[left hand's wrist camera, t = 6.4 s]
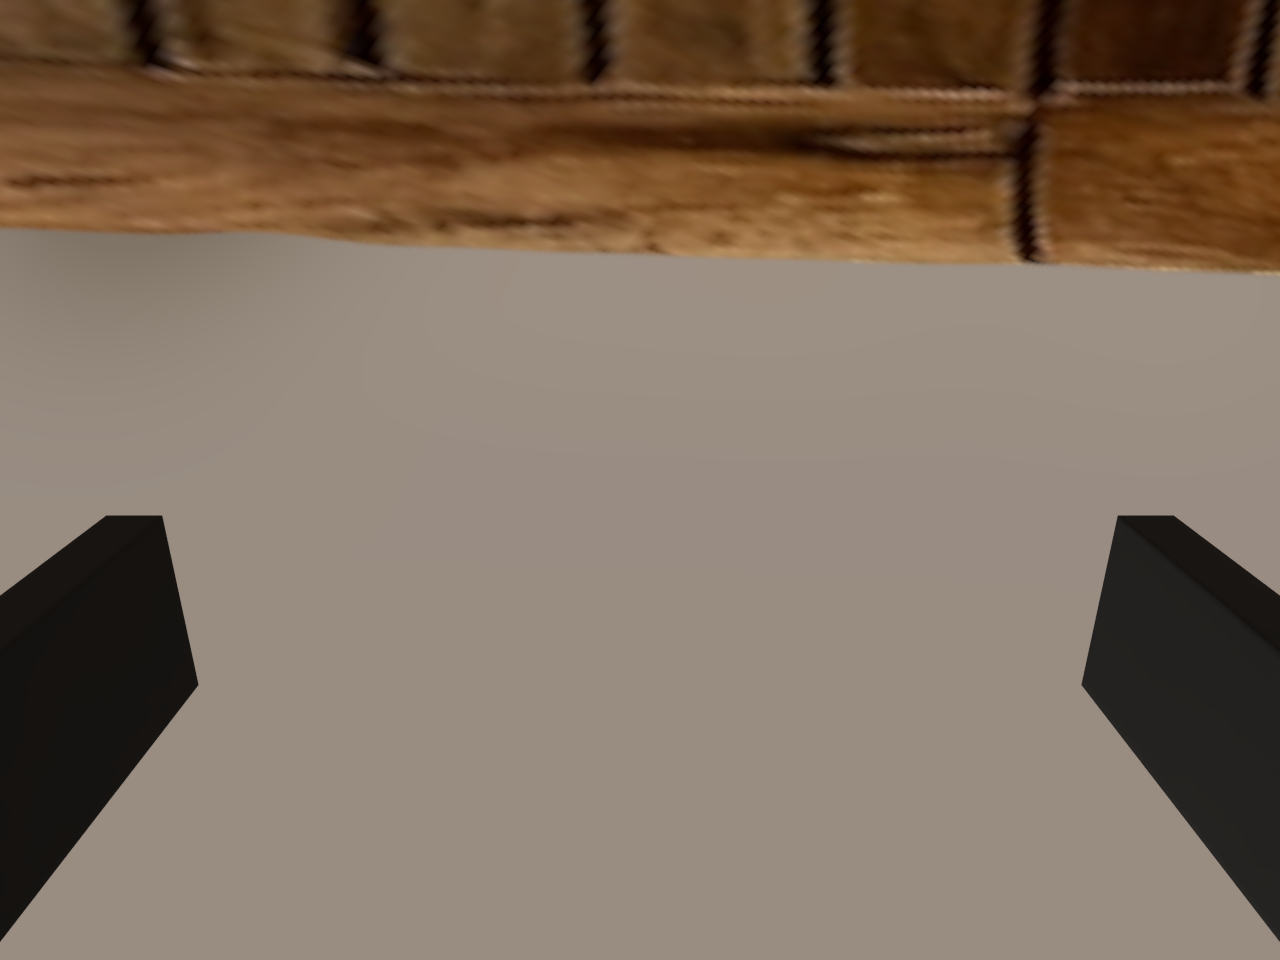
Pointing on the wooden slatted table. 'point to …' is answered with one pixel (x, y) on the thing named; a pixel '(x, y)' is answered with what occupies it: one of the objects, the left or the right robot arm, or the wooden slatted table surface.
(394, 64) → the wooden slatted table surface
